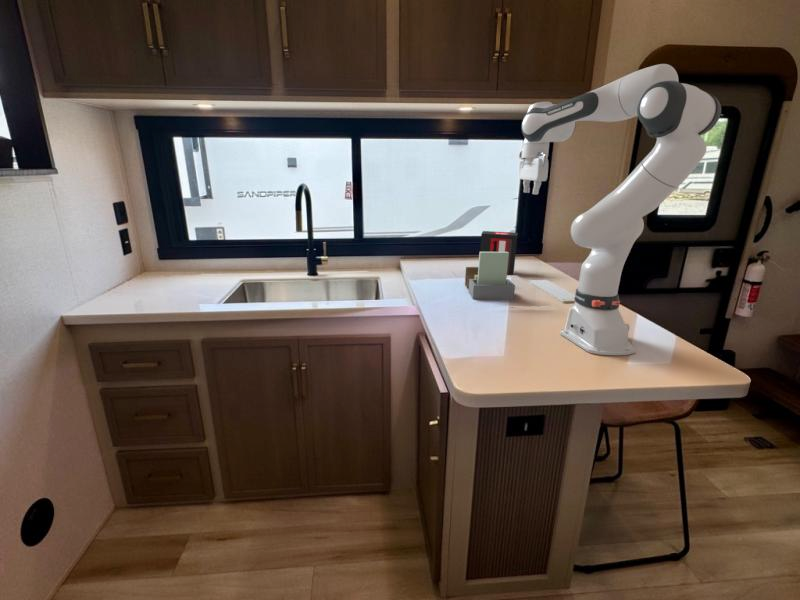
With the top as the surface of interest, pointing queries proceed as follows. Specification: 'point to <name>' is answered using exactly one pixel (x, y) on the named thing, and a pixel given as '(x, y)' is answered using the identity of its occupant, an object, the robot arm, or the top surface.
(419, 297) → the top surface
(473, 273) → the rack
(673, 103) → the robot arm
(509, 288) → the bin
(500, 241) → the cleaning product box
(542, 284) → the baseboard molding
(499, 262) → the sheet
